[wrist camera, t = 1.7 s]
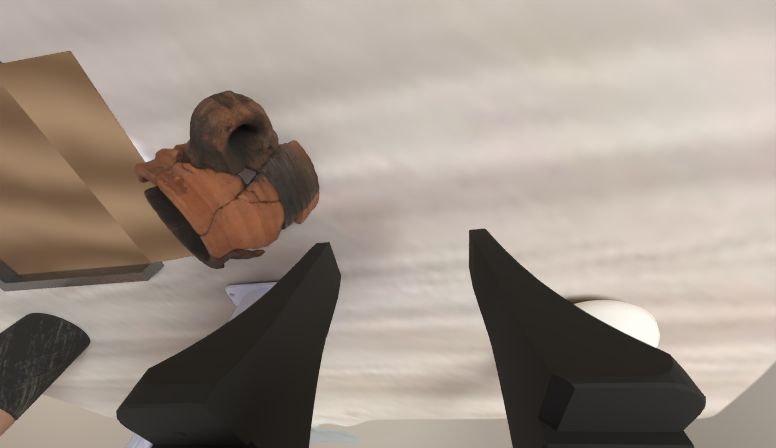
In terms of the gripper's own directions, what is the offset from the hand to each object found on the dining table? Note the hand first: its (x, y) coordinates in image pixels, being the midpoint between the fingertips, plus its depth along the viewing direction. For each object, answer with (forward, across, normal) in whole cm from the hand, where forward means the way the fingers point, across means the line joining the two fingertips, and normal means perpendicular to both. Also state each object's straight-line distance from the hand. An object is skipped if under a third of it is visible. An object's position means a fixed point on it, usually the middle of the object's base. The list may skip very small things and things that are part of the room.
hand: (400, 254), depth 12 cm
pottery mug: (+10, +11, -2) cm, 14 cm away
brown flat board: (+9, +29, -2) cm, 31 cm away
